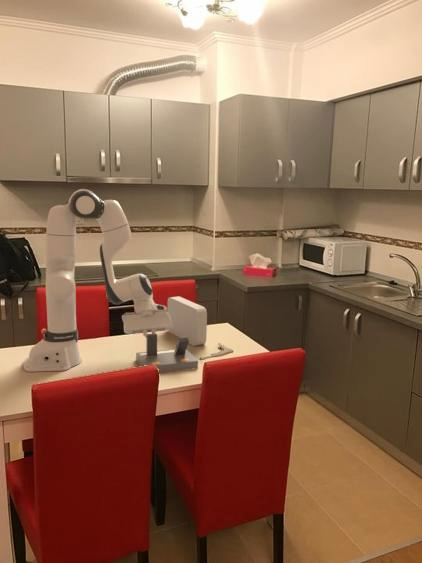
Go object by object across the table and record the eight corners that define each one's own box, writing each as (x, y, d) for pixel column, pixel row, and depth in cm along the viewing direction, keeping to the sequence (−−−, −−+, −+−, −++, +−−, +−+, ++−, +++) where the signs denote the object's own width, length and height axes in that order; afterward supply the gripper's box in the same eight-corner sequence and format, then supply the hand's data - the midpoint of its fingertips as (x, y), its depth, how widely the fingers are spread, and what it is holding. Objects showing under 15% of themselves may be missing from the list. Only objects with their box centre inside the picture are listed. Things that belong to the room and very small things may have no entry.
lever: (174, 355, 193) (178, 342, 186) (173, 352, 194) (177, 338, 187) (185, 354, 194) (189, 341, 188) (184, 351, 196) (188, 337, 189)
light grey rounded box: (210, 344, 216) (211, 307, 213) (196, 347, 212) (197, 309, 209) (180, 328, 240) (180, 294, 236) (167, 330, 235) (167, 296, 232)
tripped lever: (146, 358, 188) (146, 335, 186) (145, 356, 190) (145, 334, 188) (157, 357, 190) (157, 334, 188) (156, 355, 191) (156, 333, 189)
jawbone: (236, 351, 212) (236, 347, 211) (217, 366, 194) (217, 362, 193) (218, 346, 215) (219, 342, 215) (198, 360, 197) (198, 356, 197)
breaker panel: (144, 374, 180) (144, 366, 180) (136, 359, 195) (136, 352, 194) (197, 368, 188) (197, 360, 187) (185, 354, 203) (186, 347, 202)
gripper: (122, 309, 191) (126, 339, 184) (169, 306, 198) (176, 334, 191) (120, 316, 196) (124, 346, 189) (166, 313, 203) (172, 341, 196)
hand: (150, 340), depth 190 cm, fingers closed
